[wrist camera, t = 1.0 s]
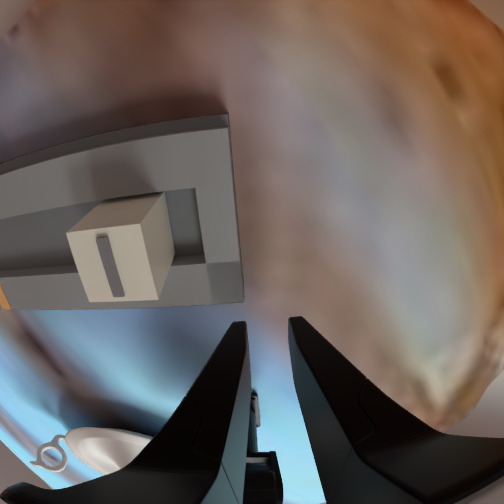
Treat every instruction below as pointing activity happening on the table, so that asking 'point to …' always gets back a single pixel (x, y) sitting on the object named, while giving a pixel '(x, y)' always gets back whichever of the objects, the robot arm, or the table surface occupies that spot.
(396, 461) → the robot arm
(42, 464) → the candlestick
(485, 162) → the table surface
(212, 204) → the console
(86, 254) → the fader knob
